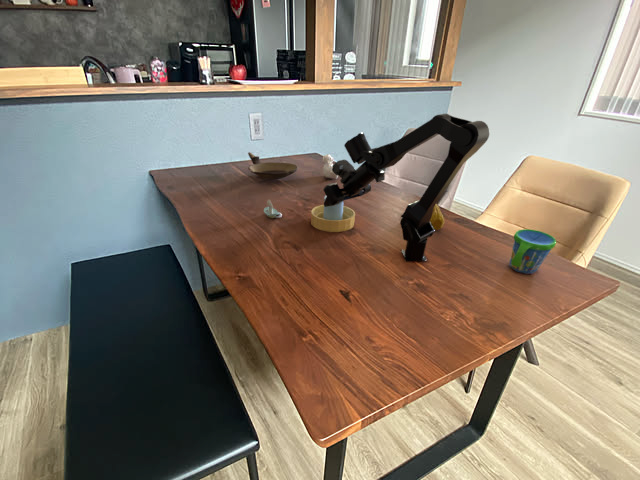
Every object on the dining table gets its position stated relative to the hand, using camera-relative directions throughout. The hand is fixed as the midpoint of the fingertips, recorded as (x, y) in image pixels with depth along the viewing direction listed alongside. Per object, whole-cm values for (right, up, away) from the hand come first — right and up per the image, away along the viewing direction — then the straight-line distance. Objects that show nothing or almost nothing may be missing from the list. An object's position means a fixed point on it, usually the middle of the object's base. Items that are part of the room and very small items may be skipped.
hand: (333, 202), depth 124 cm
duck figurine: (-1, +34, +44) cm, 56 cm away
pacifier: (-22, -2, +9) cm, 23 cm away
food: (+37, -4, +11) cm, 38 cm away
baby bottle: (0, -6, +4) cm, 7 cm away
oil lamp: (-27, +28, +48) cm, 62 cm away
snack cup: (+55, -25, -16) cm, 63 cm away
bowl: (0, -6, +5) cm, 8 cm away
